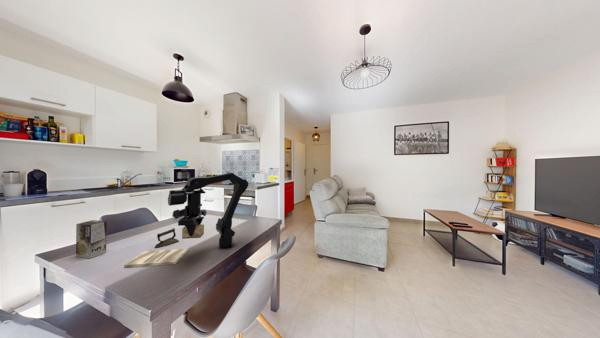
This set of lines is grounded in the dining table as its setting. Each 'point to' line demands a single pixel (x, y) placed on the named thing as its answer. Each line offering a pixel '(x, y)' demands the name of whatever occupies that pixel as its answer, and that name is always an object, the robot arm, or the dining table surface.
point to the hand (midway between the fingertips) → (193, 234)
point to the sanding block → (197, 233)
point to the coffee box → (91, 238)
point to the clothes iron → (167, 241)
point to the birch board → (157, 258)
